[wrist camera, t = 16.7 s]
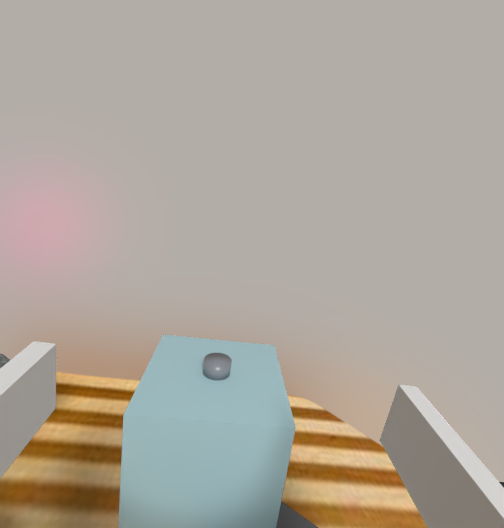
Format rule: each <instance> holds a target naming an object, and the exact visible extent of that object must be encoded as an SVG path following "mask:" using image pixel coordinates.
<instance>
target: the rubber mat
mask: <svg viewBox="0 0 504 528" xmlns="http://www.w3.org/2000/svg"><path fill="white" fill-rule="evenodd" d="M276 528H318V527H316V526H315V525H314V524H312V523H311V522H309V521H308V520H307V519H305V518H304V517H302V516H301V515H300V514H298V513H297V512H295V511H294V510H293V509H291V508H290V507H288V506H287V505H286V504H284V503H283V502H281V505H280V510H279V515H278V520H277V526H276Z"/></svg>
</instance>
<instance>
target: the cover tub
mask: <svg viewBox="0 0 504 528" xmlns="http://www.w3.org/2000/svg"><path fill="white" fill-rule="evenodd" d="M294 433H295V424H294V420H293V416H292V412H291V408H290V404H289V400H288V396H287V392H286V388H285V384H284V381H283V377H282V373H281V369H280V365H279V361H278V357H277V353H276V349H275V346H274V345H265V344H255V343H244V342H234V341H223V340H213V339H202V338H192V337H182V336H172V335H163V336H162V338H161V340H160V342H159V344H158V346H157V348H156V350H155V352H154V354H153V356H152V358H151V360H150V363H149V365H148V366H147V368H146V371H145V373H144V375H143V377H142V379H141V381H140V383H139V385H138V387H137V389H136V391H135V393H134V395H133V397H132V399H131V401H130V403H129V405H128V407H127V409H126V411H125V413H124V416H123V438H122V460H121V482H120V504H119V526H118V528H276V526H277V520H278V515H279V510H280V505H281V500H282V495H283V490H284V484H285V479H286V474H287V469H288V464H289V459H290V454H291V448H292V443H293V438H294Z"/></svg>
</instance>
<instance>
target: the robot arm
mask: <svg viewBox="0 0 504 528" xmlns="http://www.w3.org/2000/svg"><path fill="white" fill-rule="evenodd" d="M55 408H56V344H52V343H43V342H35V341H34V342H32V343H31V344H30V345H29V346H28V347H26V348H25V349H24V350H23V351H21V352H20V353H19V354H18V355H16V356H15V357H14V358H13V359H11V360H10V361H9V362H8V363H6V364H5V365H4V366H3V367H2V368H0V478H1V477H2V476H3V474H4V473H5V472H6V471H7V469H8V468H9V467H10V466H11V464H12V463H13V462H14V460H15V459H16V458H17V457H18V455H19V454H20V453H21V451H22V450H23V449H24V448H25V446H26V445H27V444H28V443H29V441H30V440H31V439H32V437H33V436H34V435H35V434H36V432H37V431H38V430H39V429H40V427H41V426H42V425H43V423H44V422H45V421H46V420H47V418H48V417H49V416H50V414H51V413H52V412H53V411H54V409H55ZM380 441H381V443H382V445H383V447H384V449H385V450H386V452H387V454H388V456H389V458H390V460H391V461H392V463H393V465H394V467H395V469H396V471H397V472H398V474H399V476H400V478H401V480H402V482H403V483H404V485H405V487H406V489H407V491H408V492H409V494H410V496H411V498H412V500H413V502H414V503H415V505H416V507H417V509H418V511H419V513H420V514H421V516H422V518H423V520H424V522H425V524H426V525H427V527H428V528H504V482H498V481H497V479H496V478H495V477H494V476H493V475H492V474H491V472H490V471H489V470H488V469H487V468H486V467H485V465H483V463H482V462H481V461H480V460H479V458H478V457H477V456H476V455H475V454H474V453H473V452H472V450H471V449H470V448H469V447H468V446H467V445H466V443H465V442H464V441H463V440H462V439H461V438H460V436H459V435H458V434H457V433H456V432H455V431H454V430H453V428H452V427H451V426H450V425H449V424H448V423H447V421H446V420H445V419H444V418H443V417H442V416H441V414H440V413H439V412H438V411H437V410H436V409H435V407H434V406H433V405H432V404H431V403H430V402H429V400H428V399H427V398H426V397H425V396H424V395H423V394H422V392H421V391H420V390H419V389H418V388H417V387H415V386H407V385H398V388H397V391H396V394H395V397H394V400H393V403H392V406H391V409H390V412H389V415H388V418H387V420H386V423H385V426H384V429H383V432H382V435H381V438H380Z"/></svg>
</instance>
